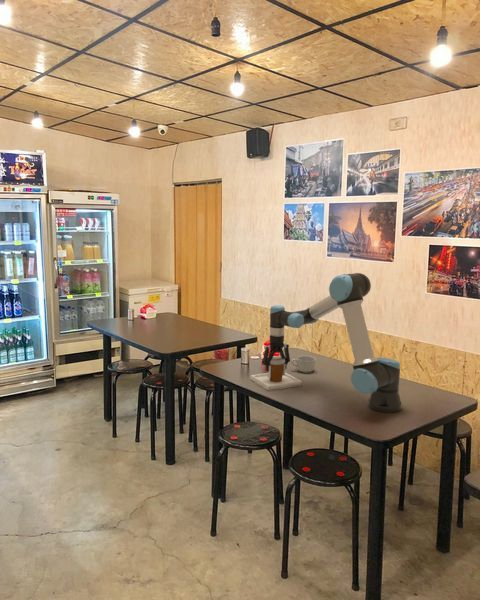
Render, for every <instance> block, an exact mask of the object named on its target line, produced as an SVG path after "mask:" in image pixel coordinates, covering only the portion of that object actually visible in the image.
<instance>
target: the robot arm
mask: <svg viewBox="0 0 480 600" xmlns="http://www.w3.org/2000/svg"><path fill="white" fill-rule="evenodd" d="M371 283H372V282H371V281H370V278H369V277H368V276H366V274H364V273H361V272H354V273H343V274H339V275H336V276H334V277H333V279H332V280H331V282H330V283H329V286H328V291H329V295H327V297H324V298H323V299H321V300H319V301H318V302H316V303H314V304H313V305H311V306H310V307H308V308H306V309H302V310H298V311H286V308H285V306H284V305H278V304H277V305H272V306H270V311H269V345H264V352H263V357H262V363H261V364H262V365H264V366H265V371H266V373H267V377H268V378H270V377H271V366H270V361H271V360H272V358H273V357H274V355H275V354H276V353H278V354H279V357H281V358H282V359H283V358H284V360H285V363H284V369H283V376H285V373H286V370H287V369H288V368H287V365H288V364H289V363H291V359H290V358H291V357H290V352H289V350H290V349H289V347H290V345H289V344H287V343H285V327H290V328H292V329H300V328H301V327H303V326H304V325H309V324H311V325H312V324H315V323H316V322H318V321H319V319H321V318H322V317H325V316H326V315H328V314H330V313H332V312H333V311H335V310H337V309H339V308H340V309H341V310H342V314H343V317H344V318H343V319H344V321H345V325H346V329H347V335H348V337H349V341H350V346H351V349H352V354H353V358H354V361H353V364H352V369H353V371H352V372H351V375H350V381H351V384H352V386H353V388H354V389H355V390H356V391H358V392H359V393H360V394H364V395H365V394H366V395H367V394H370V397H369V398H368V400H367V406H368V407H369V408H370V409H371V410H374V411H376V412H380V413H381V412H382V413H397V412H400V411H401V410H402V406H403V405H402V401H401V397H400V394H399V391H400V390H399V389H400V387H399V386H400V377H401V376H400V373H401V363H400V362H399V361H398V360H396V359H392V358H387V357H375V355H374V351H373V347H372V344H371V339H370V336H369V332H368V327H367V324H366V320H365V319H366V318H365V316H364V310H363V307H362V304H363V302H364V297H366V296H367V295H368V294H369V293H370V291H371V288H372V284H371ZM283 349H284V350H283Z"/></svg>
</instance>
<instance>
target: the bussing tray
mask: <svg viewBox="0 0 480 600" xmlns="http://www.w3.org/2000/svg"><path fill="white" fill-rule="evenodd" d="M250 381H252V382H253V383H255V384H257V385H258V386H260V387H262V388H263V389H265V390H267V391H268V392H269V391H270V392H271V391H278V390H283V389H291V388H295V387H297V388H298V387H302V386H303V381H302V380H300V379H299V378H297V377H295V376H293V375H291V374H289V373H287V372H285V376H283V375H282V381H281V382H272V381H270V378H268V377H267V372H266V373H264V372H263V373H258V374H251V375H250Z"/></svg>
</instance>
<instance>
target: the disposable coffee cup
mask: <svg viewBox="0 0 480 600" xmlns="http://www.w3.org/2000/svg"><path fill="white" fill-rule="evenodd" d="M284 363H285V360H284V358H283V359H282V358H281V356H273V358H272V360H271V361H270V366H271V377H270V381H272V382H281V381H282V375H283V369H284Z"/></svg>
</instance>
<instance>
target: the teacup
mask: <svg viewBox="0 0 480 600" xmlns="http://www.w3.org/2000/svg"><path fill="white" fill-rule="evenodd" d="M316 360H317V359H316V357H315V356H311V355H298V356H297V357H296V358H292V359H291V360H290V363H291V365H292V366H293V367H295V369H297V370H298V371H299V372H301V373H305V374H308V373H311V372H313V371H314V370H315V367H316ZM294 361H295V362H296V364H294Z"/></svg>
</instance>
